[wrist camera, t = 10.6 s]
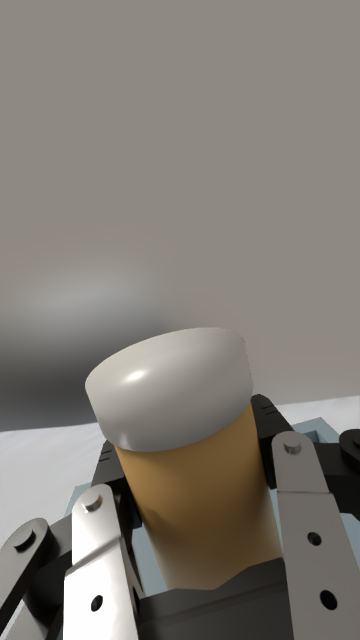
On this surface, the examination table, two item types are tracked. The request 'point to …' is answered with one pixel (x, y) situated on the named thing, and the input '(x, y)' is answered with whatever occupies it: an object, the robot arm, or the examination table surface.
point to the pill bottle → (190, 452)
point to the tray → (355, 530)
